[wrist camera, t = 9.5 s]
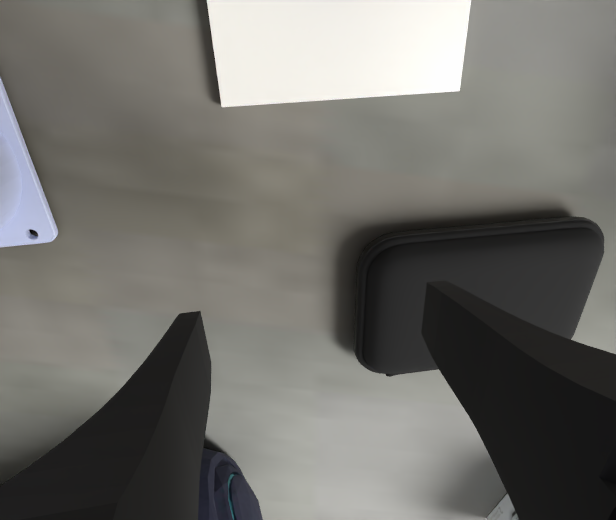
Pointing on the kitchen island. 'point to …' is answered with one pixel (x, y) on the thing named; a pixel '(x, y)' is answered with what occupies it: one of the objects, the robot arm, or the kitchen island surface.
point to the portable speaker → (224, 490)
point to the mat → (336, 48)
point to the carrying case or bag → (471, 281)
